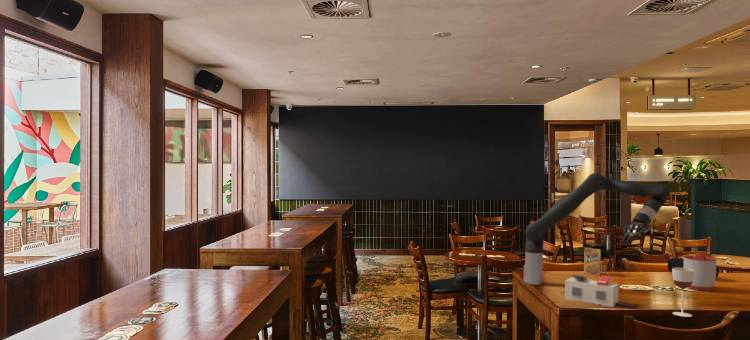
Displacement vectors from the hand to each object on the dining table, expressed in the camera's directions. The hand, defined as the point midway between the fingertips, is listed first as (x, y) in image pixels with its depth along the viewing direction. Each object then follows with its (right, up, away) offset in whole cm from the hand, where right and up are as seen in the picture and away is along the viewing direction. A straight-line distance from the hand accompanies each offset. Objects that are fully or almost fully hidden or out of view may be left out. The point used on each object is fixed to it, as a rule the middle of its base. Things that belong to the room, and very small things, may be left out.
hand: (626, 242), depth 257 cm
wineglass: (+12, -28, -26) cm, 41 cm away
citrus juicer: (+52, -29, +26) cm, 65 cm away
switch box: (-16, -28, -7) cm, 33 cm away
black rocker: (-24, -18, -2) cm, 30 cm away
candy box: (+9, -28, +62) cm, 69 cm away
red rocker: (-14, -19, -8) cm, 25 cm away
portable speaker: (+69, -29, +59) cm, 95 cm away
